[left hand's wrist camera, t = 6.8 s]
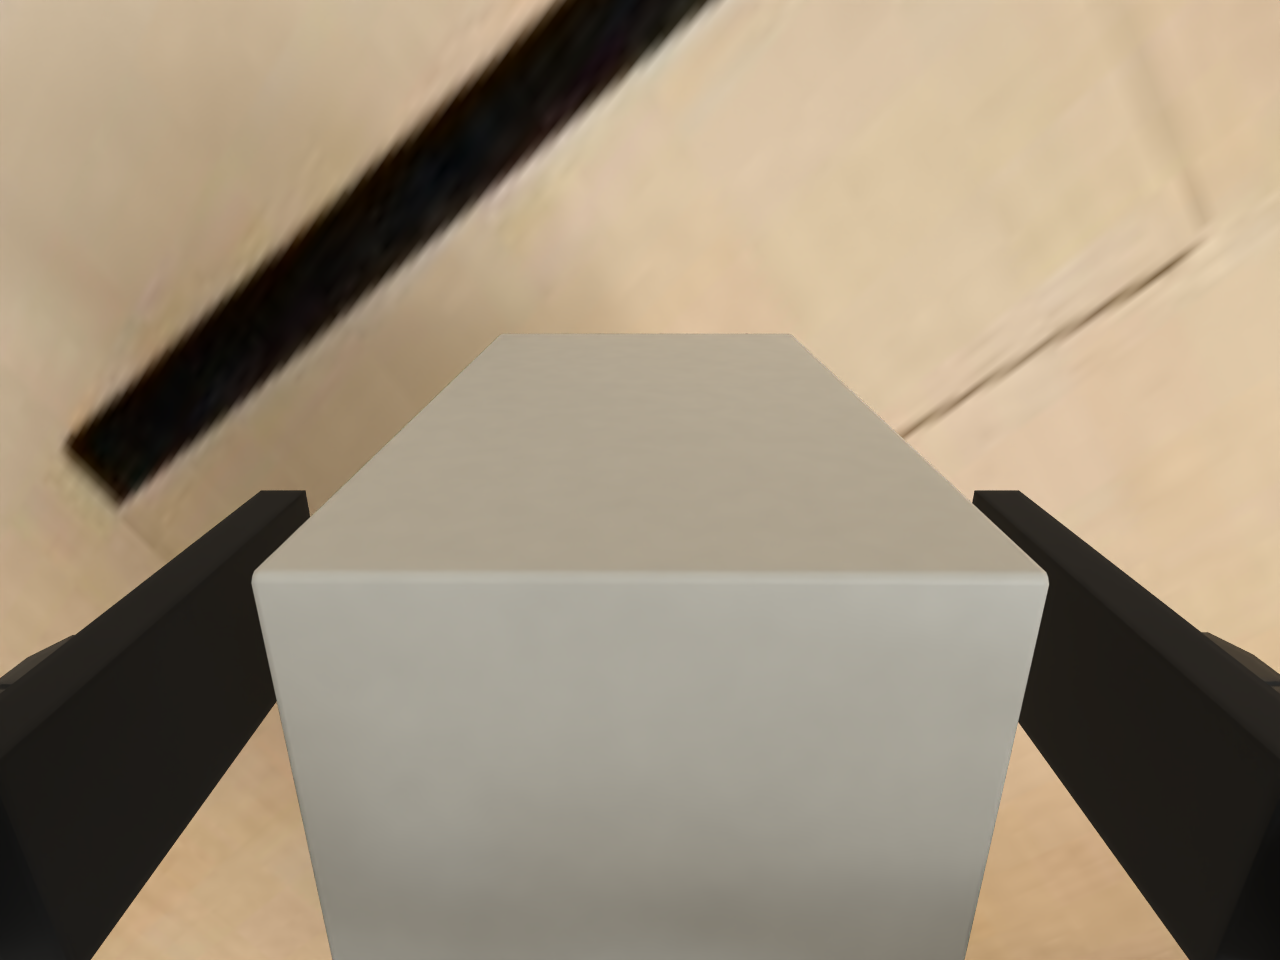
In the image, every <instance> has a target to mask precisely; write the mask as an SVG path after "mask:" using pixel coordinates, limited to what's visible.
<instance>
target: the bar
mask: <svg viewBox="0 0 1280 960" xmlns="http://www.w3.org/2000/svg"><path fill="white" fill-rule="evenodd" d="M1048 587H1049V581H1048V576H1047V573H1046V572H1045V571H1044V570H1043V569H1042V568H1041V567H1040V566H1039V565H1038V564H1037V563H1036V562H1035V561H1034V560H1032V559H1031V558H1030V557H1029V556H1028V555H1027V554H1026V553H1025V552H1024V551H1023V550H1022V549H1021V548H1020V547H1019V546H1017V545H1016V544H1015V543H1014V542H1013V541H1012V540H1011V539H1010V538H1009V537H1008V536H1007V535H1006V534H1005V533H1004V532H1002V531H1001V530H1000V529H999V528H998V527H997V526H996V525H995V524H994V523H993V522H992V521H991V520H990V519H989V518H987V517H986V516H985V515H984V514H983V513H982V512H981V511H980V510H979V509H978V508H977V507H976V506H975V505H974V504H972V503H971V502H970V501H969V500H968V499H967V498H966V497H965V496H964V495H963V494H962V493H961V492H960V491H959V490H957V489H956V488H955V487H954V486H953V485H952V484H951V483H950V482H949V481H948V480H947V479H946V478H945V477H944V476H942V475H941V474H940V473H939V472H938V471H937V470H936V469H935V468H934V467H933V466H932V465H931V464H930V463H929V462H927V461H926V460H925V459H924V458H923V457H922V456H921V455H920V454H919V453H918V452H917V451H916V450H915V449H914V448H912V447H911V446H910V445H909V444H908V443H907V442H906V441H905V440H904V439H903V438H902V437H901V436H900V435H899V434H897V433H896V432H895V431H894V430H893V429H892V428H891V427H890V426H889V425H888V424H887V423H886V422H885V421H883V420H882V419H881V418H880V417H879V416H878V415H877V414H876V413H875V412H874V411H873V410H872V409H871V408H870V407H868V406H867V405H866V404H865V403H864V402H863V401H862V400H861V399H860V398H859V397H858V396H857V395H856V394H855V393H853V392H852V391H851V390H850V389H849V388H848V387H847V386H846V385H845V384H844V383H843V382H842V381H841V380H840V379H838V378H837V377H836V376H835V375H834V374H833V373H832V372H831V371H830V370H829V369H828V368H827V367H826V366H825V365H823V364H822V363H821V362H820V361H819V360H818V359H817V358H816V357H815V356H814V355H813V354H812V353H811V352H810V351H808V350H807V349H806V348H805V347H804V346H803V345H802V344H801V343H800V342H799V341H798V340H797V339H796V338H795V337H793V336H792V335H790V334H501V335H499V336H498V337H497V338H496V339H495V340H494V341H493V342H492V343H491V344H490V345H489V346H488V347H487V348H486V349H485V350H484V351H483V352H481V353H480V354H479V355H478V356H477V357H476V358H475V359H474V360H473V361H472V362H471V363H470V364H469V365H468V366H467V367H466V368H465V369H464V370H463V371H462V372H461V373H460V374H459V375H458V376H457V377H455V378H454V379H453V380H452V381H451V382H450V383H449V384H448V385H447V386H446V387H445V388H444V389H443V390H442V391H441V392H440V393H439V394H438V395H437V396H436V397H435V398H434V399H433V400H432V401H431V402H429V403H428V404H427V405H426V406H425V407H424V408H423V409H422V410H421V411H420V412H419V413H418V414H417V415H416V416H415V417H414V418H413V419H412V420H411V421H410V422H409V423H408V424H407V425H406V426H405V427H403V428H402V429H401V430H400V431H399V432H398V433H397V434H396V435H395V436H394V437H393V438H392V439H391V440H390V441H389V442H388V443H387V444H386V445H385V446H384V447H383V448H382V449H381V450H380V451H379V452H377V453H376V454H375V455H374V456H373V457H372V458H371V459H370V460H369V461H368V462H367V463H366V464H365V465H364V466H363V467H362V468H361V469H360V470H359V471H358V472H357V473H356V474H355V475H354V476H352V477H351V478H350V479H349V480H348V481H347V482H346V483H345V484H344V485H343V486H342V487H341V488H340V489H339V490H338V491H337V492H336V493H335V494H334V495H333V496H332V497H331V498H330V499H329V500H328V501H326V502H325V503H324V504H323V505H322V506H321V507H320V508H319V509H318V510H317V511H316V512H315V513H314V514H313V515H312V516H311V517H310V518H309V519H308V520H307V521H306V522H305V523H304V524H303V525H302V526H300V527H299V528H298V529H297V530H296V531H295V532H294V533H293V534H292V535H291V536H290V537H289V538H288V539H287V540H286V541H285V542H284V543H283V544H282V545H281V546H280V547H279V548H278V549H277V550H276V551H274V552H273V553H272V554H271V555H270V556H269V557H268V558H267V559H266V560H265V561H264V562H263V563H262V564H261V565H260V566H259V567H258V568H257V569H256V570H255V571H254V573H253V576H252V588H253V593H254V597H255V602H256V607H257V611H258V616H259V621H260V625H261V630H262V634H263V639H264V644H265V648H266V653H267V658H268V662H269V667H270V672H271V676H272V681H273V686H274V690H275V695H276V699H277V704H278V709H279V713H280V718H281V723H282V727H283V732H284V737H285V741H286V746H287V751H288V755H289V760H290V764H291V769H292V774H293V778H294V783H295V788H296V792H297V797H298V802H299V806H300V811H301V816H302V820H303V825H304V829H305V834H306V839H307V843H308V848H309V853H310V857H311V862H312V867H313V871H314V876H315V881H316V885H317V890H318V894H319V899H320V904H321V908H322V913H323V918H324V922H325V927H326V932H327V936H328V941H329V946H330V950H331V955H332V959H333V960H964V959H965V955H966V950H967V946H968V942H969V937H970V933H971V928H972V924H973V919H974V915H975V911H976V906H977V902H978V897H979V893H980V888H981V884H982V880H983V875H984V871H985V866H986V862H987V857H988V853H989V848H990V844H991V840H992V835H993V831H994V826H995V822H996V817H997V813H998V809H999V804H1000V800H1001V795H1002V791H1003V786H1004V782H1005V778H1006V773H1007V769H1008V764H1009V760H1010V755H1011V751H1012V746H1013V742H1014V738H1015V733H1016V729H1017V724H1018V720H1019V715H1020V711H1021V707H1022V702H1023V698H1024V693H1025V689H1026V684H1027V680H1028V676H1029V671H1030V667H1031V662H1032V658H1033V653H1034V649H1035V644H1036V640H1037V636H1038V631H1039V627H1040V622H1041V618H1042V613H1043V609H1044V605H1045V600H1046V596H1047V591H1048Z"/></svg>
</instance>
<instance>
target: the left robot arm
mask: <svg viewBox="0 0 1280 960" xmlns="http://www.w3.org/2000/svg"><path fill="white" fill-rule="evenodd" d="M972 504H974V505H975V506H976V507H977V508H978V509H979V510H980V511H981V512H982V513H983V514H984V515H985V516H986V517H987V518H989V519H990V520H991V521H992V522H993V523H994V524H995V525H996V526H997V527H998V528H999V529H1000V530H1001V531H1002V532H1004V533H1005V534H1006V535H1007V536H1008V537H1009V538H1010V539H1011V540H1012V541H1013V542H1014V543H1015V544H1016V545H1017V546H1019V547H1020V548H1021V549H1022V550H1023V551H1024V552H1025V553H1026V554H1027V555H1028V556H1029V557H1030V558H1031V559H1032V560H1034V561H1035V562H1036V563H1037V564H1038V565H1039V566H1040V567H1041V568H1042V569H1043V570H1044V571H1045V572H1046V573H1047V576H1048V581H1049V587H1048V591H1047V596H1046V600H1045V605H1044V609H1043V613H1042V618H1041V622H1040V627H1039V631H1038V636H1037V640H1036V644H1035V649H1034V653H1033V658H1032V662H1031V667H1030V671H1029V676H1028V680H1027V684H1026V689H1025V693H1024V698H1023V702H1022V707H1021V711H1020V715H1019V720H1018V722H1019V724H1020V725H1021V726H1022V728H1023V729H1024V731H1025V732H1026V733H1027V735H1028V736H1029V737H1030V739H1031V740H1032V742H1033V743H1034V744H1035V746H1036V747H1037V749H1038V750H1039V751H1040V753H1041V754H1042V756H1043V757H1044V758H1045V760H1046V761H1047V763H1048V764H1049V765H1050V767H1051V768H1052V769H1053V771H1054V772H1055V774H1056V775H1057V776H1058V778H1059V779H1060V781H1061V782H1062V783H1063V785H1064V786H1065V788H1066V789H1067V790H1068V792H1069V793H1070V794H1071V796H1072V797H1073V799H1074V800H1075V801H1076V803H1077V804H1078V806H1079V807H1080V808H1081V810H1082V811H1083V813H1084V814H1085V815H1086V817H1087V818H1088V820H1089V821H1090V822H1091V824H1092V825H1093V826H1094V828H1095V829H1096V831H1097V832H1098V833H1099V835H1100V836H1101V838H1102V839H1103V840H1104V842H1105V843H1106V845H1107V846H1108V847H1109V849H1110V850H1111V851H1112V853H1113V854H1114V856H1115V857H1116V858H1117V860H1118V861H1119V863H1120V864H1121V865H1122V867H1123V868H1124V870H1125V871H1126V872H1127V874H1128V875H1129V877H1130V878H1131V879H1132V881H1133V882H1134V883H1135V885H1136V886H1137V888H1138V889H1139V890H1140V892H1141V893H1142V895H1143V896H1144V897H1145V899H1146V900H1147V902H1148V903H1149V904H1150V906H1151V907H1152V908H1153V910H1154V911H1155V913H1156V914H1157V915H1158V917H1159V918H1160V920H1161V921H1162V922H1163V924H1164V925H1165V927H1166V928H1167V929H1168V931H1169V932H1170V934H1171V935H1172V936H1173V938H1174V939H1175V940H1176V942H1177V943H1178V945H1179V946H1180V947H1181V949H1182V950H1183V952H1184V953H1185V954H1186V956H1187V957H1188V959H1189V960H1280V674H1278V673H1277V672H1276V671H1274V670H1273V669H1272V668H1270V667H1269V666H1268V665H1266V664H1265V663H1264V662H1262V661H1261V660H1260V659H1258V658H1257V657H1256V656H1254V655H1253V654H1251V653H1249V652H1247V651H1245V650H1243V649H1241V648H1239V647H1237V646H1235V645H1233V644H1231V643H1229V642H1227V641H1224V640H1222V639H1220V638H1218V637H1216V636H1214V635H1212V634H1210V633H1208V632H1200V631H1199V630H1198V629H1196V628H1195V627H1194V626H1192V625H1191V624H1190V623H1189V622H1187V621H1186V620H1185V619H1183V618H1182V617H1181V616H1180V615H1178V614H1177V613H1176V612H1174V611H1173V610H1172V609H1171V608H1169V607H1168V606H1167V605H1165V604H1164V603H1163V602H1162V601H1160V600H1159V599H1158V598H1156V597H1155V596H1154V595H1153V594H1151V593H1150V592H1149V591H1147V590H1146V589H1145V588H1144V587H1142V586H1141V585H1140V584H1138V583H1137V582H1136V581H1135V580H1133V579H1132V578H1131V577H1129V576H1128V575H1127V574H1126V573H1124V572H1123V571H1122V570H1120V569H1119V568H1118V567H1117V566H1115V565H1114V564H1113V563H1111V562H1110V561H1109V560H1108V559H1106V558H1105V557H1104V556H1102V555H1101V554H1100V553H1099V552H1097V551H1096V550H1095V549H1093V548H1092V547H1091V546H1090V545H1088V544H1087V543H1086V542H1084V541H1083V540H1082V539H1081V538H1079V537H1078V536H1077V535H1075V534H1074V533H1073V532H1072V531H1070V530H1069V529H1068V528H1066V527H1065V526H1064V525H1063V524H1061V523H1060V522H1059V521H1057V520H1056V519H1055V518H1054V517H1052V516H1051V515H1050V514H1048V513H1047V512H1046V511H1045V510H1043V509H1042V508H1041V507H1039V506H1038V505H1037V504H1036V503H1034V502H1033V501H1032V500H1030V499H1029V498H1028V497H1027V496H1025V495H1024V494H1023V493H1021V492H1020V491H974V497H973V502H972ZM309 518H310V514H309V508H308V502H307V497H306V491H260V492H259V493H257V494H256V495H255V496H253V497H252V498H251V499H250V500H248V501H247V502H246V503H244V504H243V505H242V506H241V507H239V508H238V509H237V510H235V511H234V512H233V513H232V514H230V515H229V516H228V517H226V518H225V519H224V520H223V521H221V522H220V523H219V524H217V525H216V526H215V527H214V528H212V529H211V530H210V531H208V532H207V533H206V534H205V535H203V536H202V537H201V538H199V539H198V540H197V541H196V542H194V543H193V544H192V545H190V546H189V547H188V548H187V549H185V550H184V551H183V552H181V553H180V554H179V555H178V556H176V557H175V558H174V559H172V560H171V561H170V562H169V563H167V564H166V565H165V566H163V567H162V568H161V569H160V570H158V571H157V572H156V573H154V574H153V575H152V576H151V577H149V578H148V579H147V580H145V581H144V582H143V583H142V584H140V585H139V586H138V587H136V588H135V589H134V590H133V591H131V592H130V593H129V594H127V595H126V596H125V597H124V598H122V599H121V600H120V601H118V602H117V603H116V604H115V605H113V606H112V607H111V608H109V609H108V610H107V611H106V612H104V613H103V614H102V615H100V616H99V617H98V618H97V619H95V620H94V621H93V622H91V623H90V624H89V625H88V626H86V627H85V628H84V629H82V630H81V631H80V632H79V633H77V634H76V635H72V636H70V637H68V638H66V639H64V640H62V641H60V642H58V643H56V644H54V645H52V646H50V647H48V648H46V649H44V650H42V651H40V652H38V653H36V654H34V655H32V656H30V657H28V658H26V659H25V660H24V661H22V662H21V663H20V664H18V665H17V666H16V667H14V668H13V669H12V670H10V671H9V672H8V673H6V674H5V675H4V676H2V677H1V678H0V960H91V959H92V957H93V956H94V954H95V953H96V952H97V950H98V949H99V947H100V946H101V945H102V943H103V942H104V940H105V939H106V938H107V936H108V935H109V934H110V932H111V931H112V929H113V928H114V927H115V925H116V924H117V922H118V921H119V920H120V918H121V917H122V915H123V914H124V913H125V911H126V910H127V909H128V907H129V906H130V904H131V903H132V902H133V900H134V899H135V897H136V896H137V895H138V893H139V892H140V890H141V889H142V888H143V886H144V885H145V883H146V882H147V881H148V879H149V878H150V877H151V875H152V874H153V872H154V871H155V870H156V868H157V867H158V865H159V864H160V863H161V861H162V860H163V858H164V857H165V856H166V854H167V853H168V852H169V850H170V849H171V847H172V846H173V845H174V843H175V842H176V840H177V839H178V838H179V836H180V835H181V833H182V832H183V831H184V829H185V828H186V826H187V825H188V824H189V822H190V821H191V820H192V818H193V817H194V815H195V814H196V813H197V811H198V810H199V808H200V807H201V806H202V804H203V803H204V801H205V800H206V799H207V797H208V796H209V795H210V793H211V792H212V790H213V789H214V788H215V786H216V785H217V783H218V782H219V781H220V779H221V778H222V776H223V775H224V774H225V772H226V771H227V769H228V768H229V767H230V765H231V764H232V763H233V761H234V760H235V758H236V757H237V756H238V754H239V753H240V751H241V750H242V749H243V747H244V746H245V744H246V743H247V742H248V740H249V739H250V738H251V736H252V735H253V733H254V732H255V731H256V729H257V728H258V726H259V725H260V724H261V722H262V721H263V719H264V718H265V717H266V715H267V714H268V712H269V711H270V710H271V708H272V707H273V706H274V704H275V703H276V701H277V699H276V695H275V690H274V686H273V681H272V676H271V672H270V667H269V662H268V658H267V653H266V648H265V644H264V639H263V634H262V630H261V625H260V621H259V616H258V611H257V607H256V602H255V597H254V593H253V588H252V576H253V573H254V571H255V570H256V569H257V568H258V567H259V566H260V565H261V564H262V563H263V562H264V561H265V560H266V559H267V558H268V557H269V556H270V555H271V554H272V553H273V552H274V551H276V550H277V549H278V548H279V547H280V546H281V545H282V544H283V543H284V542H285V541H286V540H287V539H288V538H289V537H290V536H291V535H292V534H293V533H294V532H295V531H296V530H297V529H298V528H299V527H300V526H302V525H303V524H304V523H305V522H306V521H307V520H308V519H309Z"/></svg>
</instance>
